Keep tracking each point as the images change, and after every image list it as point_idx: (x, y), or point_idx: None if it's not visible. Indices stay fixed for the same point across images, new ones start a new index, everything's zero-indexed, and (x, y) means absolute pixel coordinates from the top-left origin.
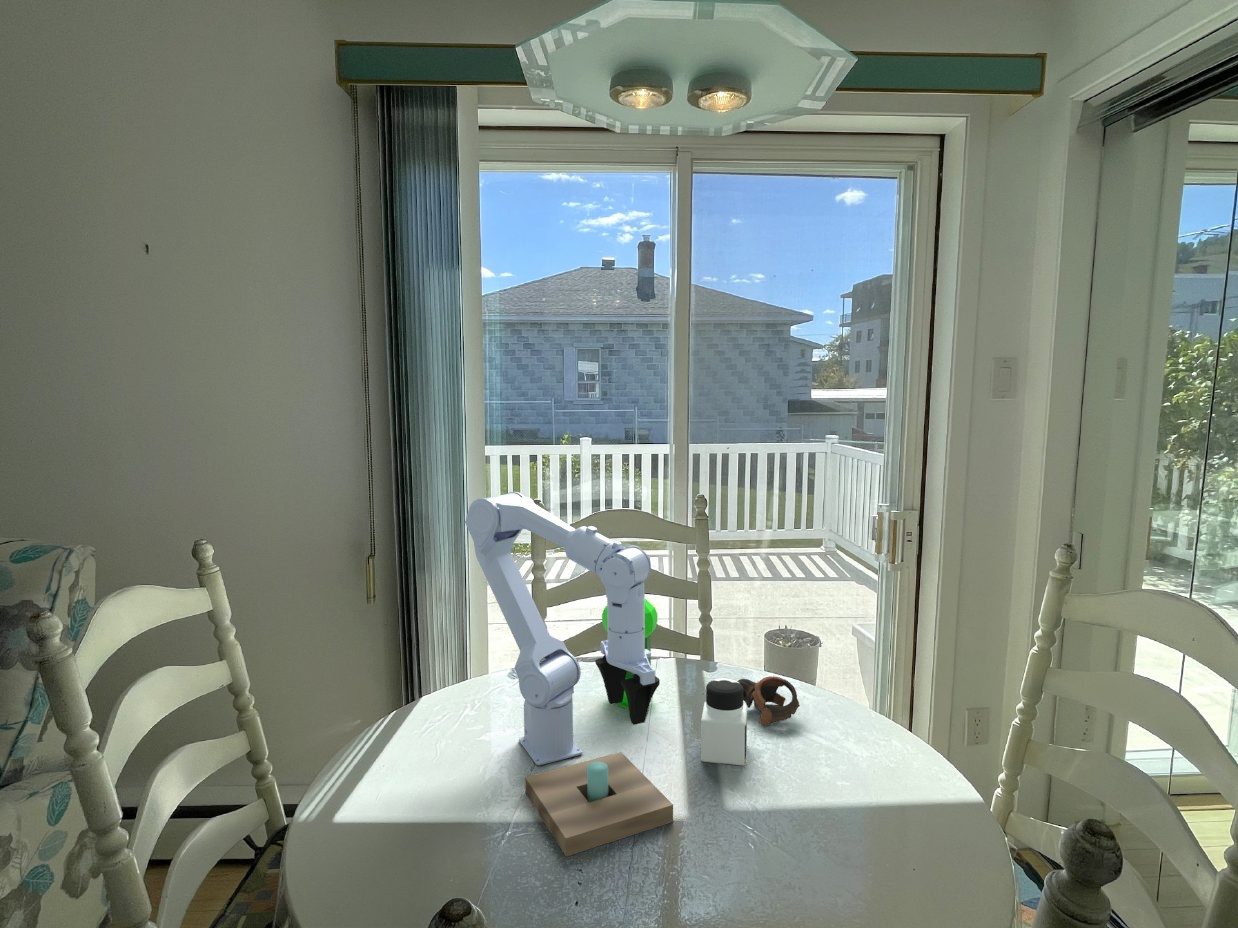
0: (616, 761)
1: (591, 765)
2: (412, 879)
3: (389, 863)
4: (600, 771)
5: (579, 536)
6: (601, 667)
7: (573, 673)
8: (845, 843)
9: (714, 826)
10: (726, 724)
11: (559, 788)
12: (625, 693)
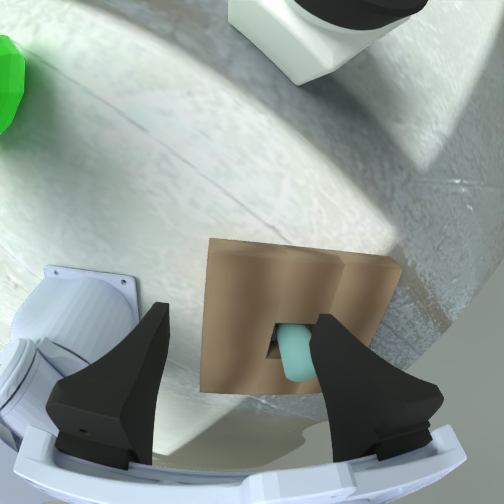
0: (237, 279)
1: (292, 375)
2: (269, 443)
3: (241, 448)
4: None
5: None
6: (150, 464)
7: (41, 392)
8: None
9: (430, 216)
10: (380, 37)
11: (254, 374)
12: (1, 123)
